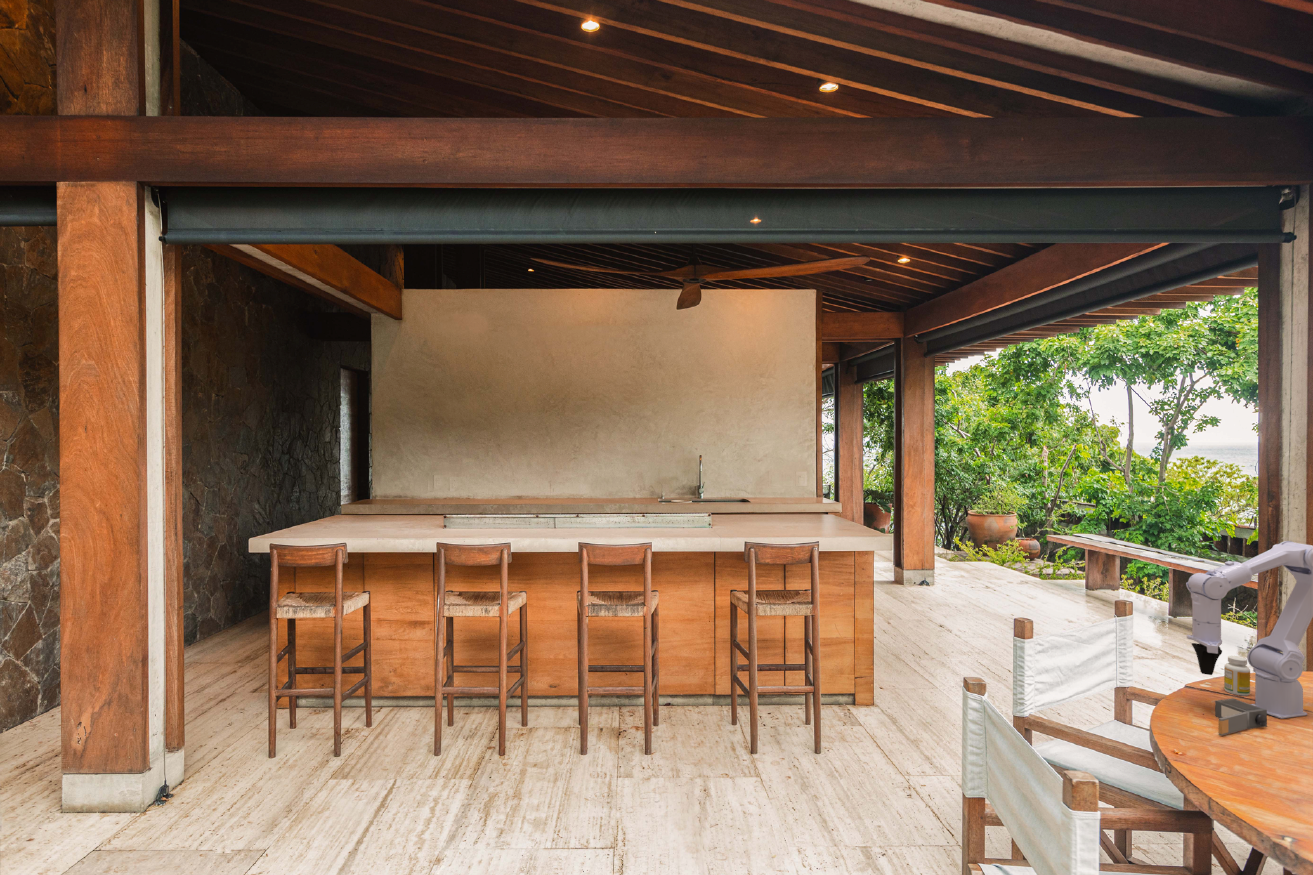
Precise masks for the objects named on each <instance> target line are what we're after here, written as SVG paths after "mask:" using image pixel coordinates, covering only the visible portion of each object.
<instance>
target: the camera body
mask: <svg viewBox="0 0 1313 875" xmlns="http://www.w3.org/2000/svg"><path fill="white" fill-rule="evenodd" d="M1251 704H1252V703H1248V702H1244V701H1242V700H1240V699H1236V698H1233V697H1232V698H1226V699H1225V698H1224V699H1218V700H1214V707H1215V708H1214V711H1215V712H1214V715H1215V716H1216V717H1215V718H1218V719H1219V718H1223V717H1227V716H1231V715H1235V714H1239V713H1243V712H1249V729H1248V730H1251V729H1252V730H1253V729H1258V728H1259V729H1260V728H1264V727H1265V728H1266V727H1268V714H1267V710H1265V709H1262V708H1260V707H1257V706H1254V705H1251Z"/></svg>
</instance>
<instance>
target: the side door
mask: <svg viewBox="0 0 1313 875" xmlns="http://www.w3.org/2000/svg"><path fill="white" fill-rule="evenodd" d="M1217 729H1218V730H1217V731H1218V732H1217V733H1218V736H1226V735H1229V734H1230V735H1231V734H1233V733H1237V732H1241V731H1244V730H1250V729H1249V712H1243V713H1239V714H1235V715H1231V716H1227V717H1223V718H1218V728H1217Z"/></svg>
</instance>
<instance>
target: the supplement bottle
mask: <svg viewBox="0 0 1313 875" xmlns="http://www.w3.org/2000/svg"><path fill="white" fill-rule="evenodd" d="M1247 665H1248V660H1247V657H1246V658H1245V657H1242V656H1238V655H1228V656H1227V663H1225V664H1224V669H1223V670H1224V673H1223V674H1224V676H1223V680H1224V682H1223V683H1224V684H1223V689H1224V691H1225V692H1227V693H1229V694H1231V695H1236V696H1243V697H1244V696H1245V697H1247V696H1249V695H1250V694H1251V669H1250V668H1249V667H1248V666H1247Z"/></svg>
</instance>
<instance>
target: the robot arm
mask: <svg viewBox="0 0 1313 875" xmlns="http://www.w3.org/2000/svg"><path fill="white" fill-rule="evenodd" d="M1280 566H1283V568H1285V570H1287V571H1288V572H1289V573H1290V574H1291V575H1292V576H1293V578H1294V579H1295V581H1296V582H1295V584H1294V586H1293V588H1292V590H1291V592H1290V595H1289V597H1288V599H1287V601H1286V603H1285V605H1284V607H1283V609H1282V611H1281V613H1280V615H1279V617H1278V618H1277V621H1276V623H1275V624H1274V627H1273V629H1272V631H1271V633H1270V634H1269V635H1268V636H1266V637H1263V638H1260V639H1258V640H1257V643H1256V644H1255V645H1254V646H1253V647H1251V648H1250V649H1249V651H1248V652H1247V657H1246V659H1247V663H1248V664H1249V666H1250V667H1252V668H1253V670H1252V671H1253V673H1254V674H1255V675H1254V676H1255V678H1254V679H1255V680H1254V681H1255V682H1254V684H1255V685H1254V686H1255V690H1254V691H1255V693H1254V694H1255V699H1254V703H1250V704H1251V705H1254V706H1257V707H1260V708H1262V709H1265V710H1267V715H1268V716H1272V717H1274V718H1278V719H1281V720H1282V719H1290V718H1295V717H1304V716H1308V713H1307V712H1305V711H1304V687H1303V686H1302V684H1301V682H1300V681H1299V678H1300V677H1301V675H1302V674H1303V671H1304V670H1303V665H1304V664H1303V663H1304V661H1305V658H1306V657H1305V655H1304V654H1303V652H1302V651H1301V650H1300V648H1299V646H1300V644H1301V642H1302V640H1303V638H1304V636H1305V634H1306V632H1307V629H1308V628H1309V625H1310V624H1311V622H1312V619H1313V545H1311V544H1306V543H1300V542H1299V543H1298V542H1294V541H1292V540H1284V541H1282V542H1280V543H1276V544H1274V545H1273V544H1272V548H1271V549H1269V550H1266V551H1264V552H1262V553H1260V554H1258V555H1256V556H1254V557H1252V558H1250V559H1248V560H1245V561H1244V562H1239V561H1235V560H1234V561H1231V560H1227V561H1225V562H1224V565H1222V566H1218V567H1216V568H1214V569H1212V568H1210V569H1208V570H1207V571H1206V572H1205V573H1203V572H1196V573H1193V574H1191V576H1190V577H1189V578H1188V580H1187V582H1186V583H1185V586H1186V588H1187V590H1188V591H1189V593H1190V598H1191V601H1192V603H1191V604H1192V606H1191V608H1192V611H1191V612H1192V616H1191V618H1192V620H1191V622H1192V623H1191V624H1192V626H1191V627H1192V628H1191V629H1192V630H1191V631H1192V634H1186V639H1187V640H1192V641H1194V642H1192V643H1191V646H1192V648H1193V650H1194V651H1195V655H1196V658H1197V662H1198V666H1199V670H1200V674H1203V675H1209V676H1213V674H1214V671H1215V668H1216V664H1217V661H1218V660H1219V657H1220V656H1221V655H1222V653H1223V650H1222V648H1221V647H1220V646H1221V645H1223V639H1222V599H1223V598H1225V597H1226V596H1227V593H1228V592H1229V591H1231V590H1232V589H1235V588H1239V587H1240V586H1242V585H1245V584H1248V583H1249V582H1251V581H1252V578H1253V576H1254V575H1257V574H1261V573H1262V572H1266V571H1269V570H1271V569H1272V570H1273V569H1275V568H1278V567H1280Z"/></svg>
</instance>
